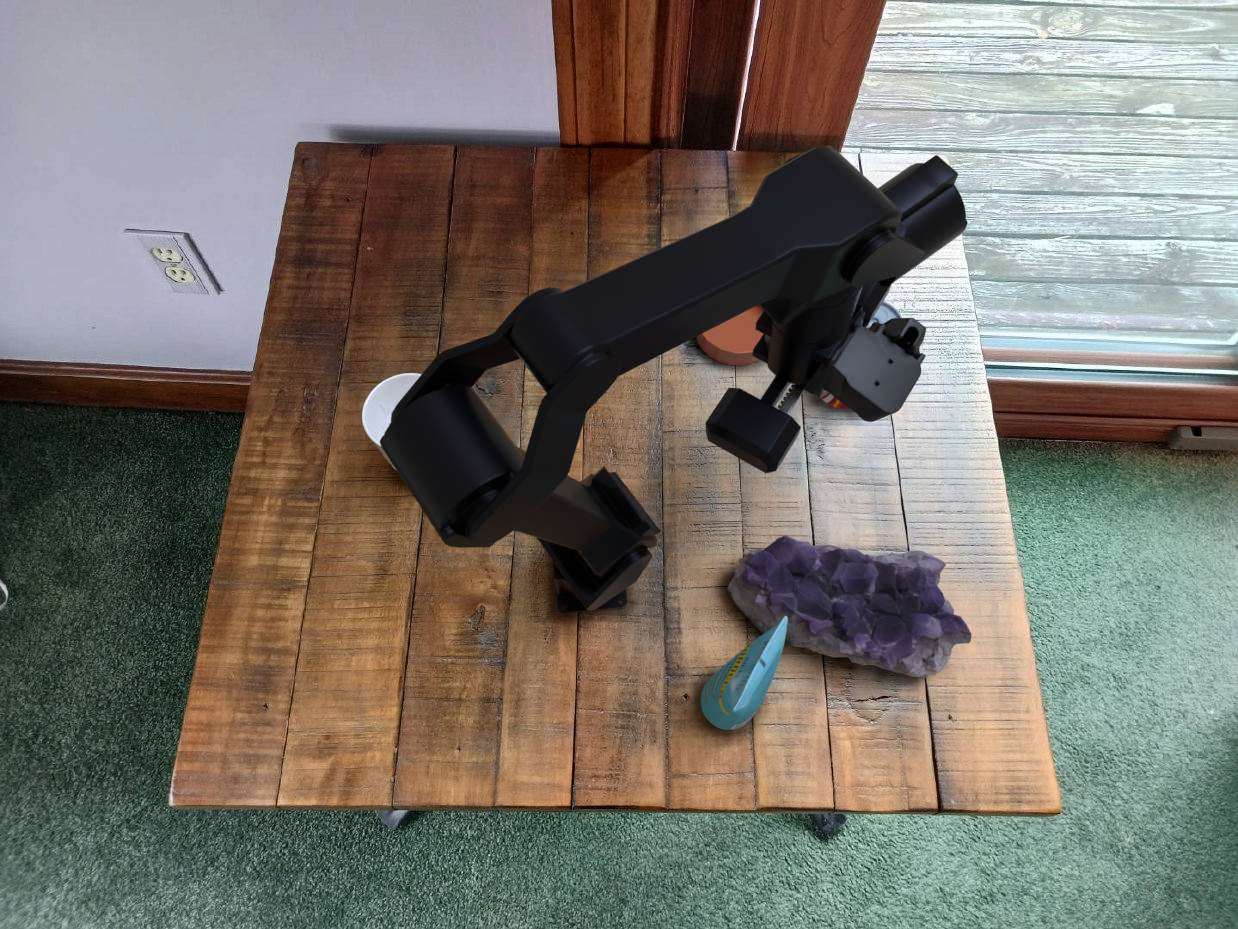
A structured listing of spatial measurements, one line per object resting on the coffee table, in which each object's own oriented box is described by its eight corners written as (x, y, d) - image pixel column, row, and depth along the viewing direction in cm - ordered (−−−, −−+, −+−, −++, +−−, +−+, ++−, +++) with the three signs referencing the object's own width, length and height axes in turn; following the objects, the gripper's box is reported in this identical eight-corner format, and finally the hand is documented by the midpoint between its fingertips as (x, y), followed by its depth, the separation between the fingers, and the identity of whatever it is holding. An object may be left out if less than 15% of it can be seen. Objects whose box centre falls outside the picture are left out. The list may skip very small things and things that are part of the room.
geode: (717, 661, 73) (728, 621, 64) (731, 548, 79) (743, 497, 71) (947, 702, 71) (990, 665, 62) (943, 582, 77) (982, 534, 68)
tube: (719, 652, 73) (752, 598, 56) (768, 677, 72) (818, 631, 55) (684, 728, 71) (707, 697, 53) (734, 755, 70) (775, 732, 52)
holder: (700, 368, 85) (703, 356, 83) (689, 300, 89) (691, 286, 87) (782, 361, 86) (787, 349, 84) (768, 293, 89) (772, 280, 87)
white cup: (421, 409, 83) (397, 358, 74) (484, 445, 82) (468, 397, 72) (374, 469, 80) (343, 424, 71) (438, 507, 79) (415, 466, 70)
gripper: (850, 474, 51) (819, 536, 66) (983, 255, 55) (925, 359, 70) (700, 392, 54) (702, 468, 69) (837, 190, 58) (811, 302, 73)
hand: (789, 399), depth 70 cm, fingers open, 9 cm apart
